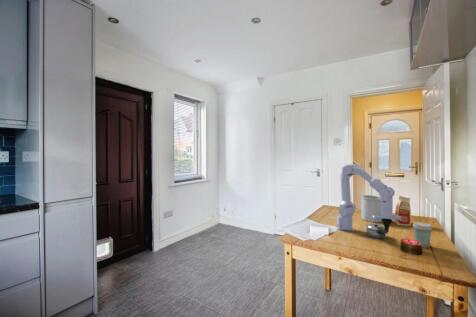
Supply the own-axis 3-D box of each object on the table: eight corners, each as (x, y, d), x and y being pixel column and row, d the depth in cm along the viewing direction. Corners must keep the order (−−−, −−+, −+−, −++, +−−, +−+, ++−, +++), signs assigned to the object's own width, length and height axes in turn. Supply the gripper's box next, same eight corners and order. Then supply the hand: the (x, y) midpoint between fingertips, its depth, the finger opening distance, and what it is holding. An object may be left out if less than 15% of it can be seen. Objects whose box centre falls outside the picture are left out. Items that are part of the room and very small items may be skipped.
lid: (363, 224, 149) (363, 221, 149) (380, 224, 148) (380, 222, 148) (375, 233, 133) (375, 230, 133) (395, 233, 132) (395, 230, 132)
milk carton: (397, 224, 163) (397, 196, 163) (394, 220, 172) (394, 194, 171) (412, 226, 160) (413, 197, 159) (408, 222, 168) (409, 195, 168)
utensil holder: (383, 218, 178) (383, 195, 177) (383, 223, 166) (383, 199, 165) (361, 215, 186) (362, 194, 185) (360, 220, 174) (360, 197, 173)
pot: (362, 231, 151) (362, 224, 151) (379, 232, 149) (379, 224, 149) (373, 241, 134) (373, 233, 134) (392, 242, 133) (392, 234, 132)
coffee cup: (433, 250, 122) (433, 227, 122) (413, 246, 127) (413, 225, 126) (430, 244, 130) (430, 223, 129) (411, 241, 134) (411, 220, 134)
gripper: (376, 209, 131) (376, 233, 131) (404, 210, 129) (404, 234, 129) (371, 206, 138) (370, 229, 138) (397, 207, 136) (397, 230, 136)
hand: (386, 231), depth 134 cm, fingers closed, pressing on lid
